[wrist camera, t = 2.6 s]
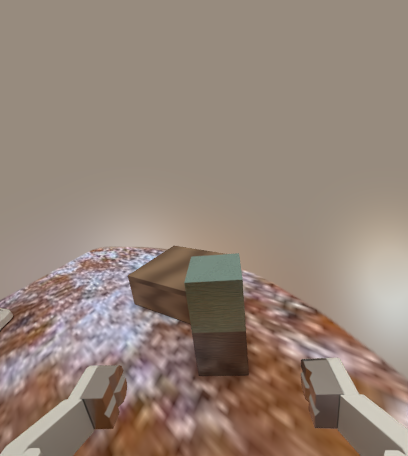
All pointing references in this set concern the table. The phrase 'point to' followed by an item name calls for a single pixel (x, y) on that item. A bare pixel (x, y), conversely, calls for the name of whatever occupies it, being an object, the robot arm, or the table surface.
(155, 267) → the walnut stand
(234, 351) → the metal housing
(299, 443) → the table surface
